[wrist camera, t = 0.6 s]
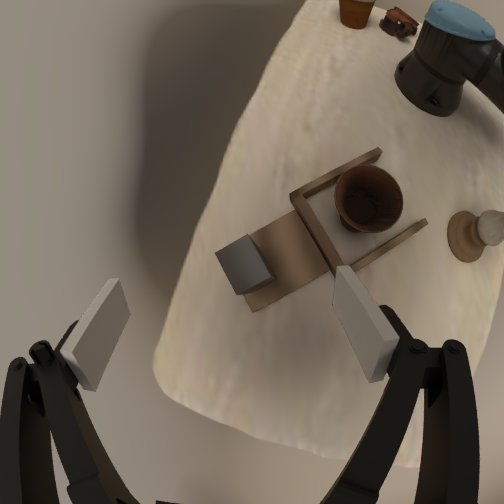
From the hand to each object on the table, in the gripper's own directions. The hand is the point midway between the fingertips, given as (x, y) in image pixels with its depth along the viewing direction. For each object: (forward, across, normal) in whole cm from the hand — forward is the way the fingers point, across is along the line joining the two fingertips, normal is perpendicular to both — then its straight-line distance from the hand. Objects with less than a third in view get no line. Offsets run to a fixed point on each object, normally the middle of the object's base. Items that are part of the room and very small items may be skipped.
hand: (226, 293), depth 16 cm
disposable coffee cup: (+49, +30, +39) cm, 70 cm away
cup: (+24, +18, -4) cm, 30 cm away
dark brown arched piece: (+47, +42, +39) cm, 74 cm away
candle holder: (+19, +39, -6) cm, 43 cm away
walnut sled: (+23, +13, -6) cm, 27 cm away
